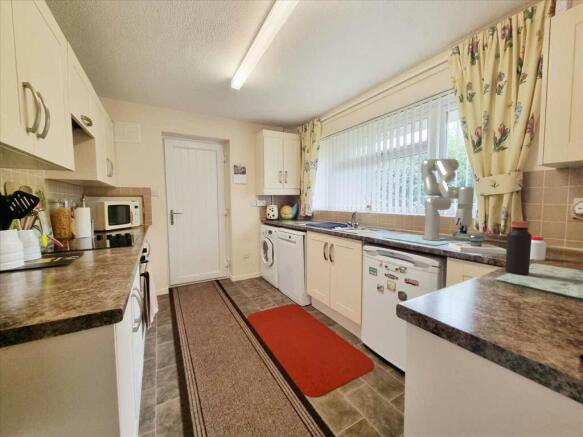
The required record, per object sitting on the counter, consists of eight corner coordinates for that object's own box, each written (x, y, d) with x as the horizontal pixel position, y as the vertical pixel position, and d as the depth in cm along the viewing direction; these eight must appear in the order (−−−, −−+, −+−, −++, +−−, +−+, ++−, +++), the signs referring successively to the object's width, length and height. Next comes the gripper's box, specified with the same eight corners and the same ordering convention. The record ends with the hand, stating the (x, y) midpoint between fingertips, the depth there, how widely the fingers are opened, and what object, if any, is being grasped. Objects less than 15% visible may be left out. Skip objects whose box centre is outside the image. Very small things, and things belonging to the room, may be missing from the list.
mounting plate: (448, 246, 150) (448, 241, 150) (489, 248, 144) (490, 243, 144) (460, 251, 133) (460, 246, 133) (507, 254, 128) (507, 249, 127)
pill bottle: (540, 257, 121) (541, 236, 120) (548, 261, 114) (550, 238, 113) (520, 256, 124) (521, 235, 123) (527, 259, 117) (528, 236, 116)
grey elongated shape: (487, 246, 136) (488, 235, 136) (479, 246, 133) (480, 235, 133) (456, 241, 152) (457, 231, 152) (448, 242, 149) (449, 232, 149)
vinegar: (531, 273, 92) (535, 221, 91) (525, 276, 89) (529, 222, 87) (508, 269, 98) (511, 220, 97) (502, 271, 94) (505, 221, 93)
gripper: (465, 206, 153) (463, 235, 154) (451, 206, 147) (449, 236, 148) (479, 207, 146) (476, 237, 147) (464, 207, 140) (462, 238, 141)
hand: (463, 236), depth 148 cm, fingers closed
